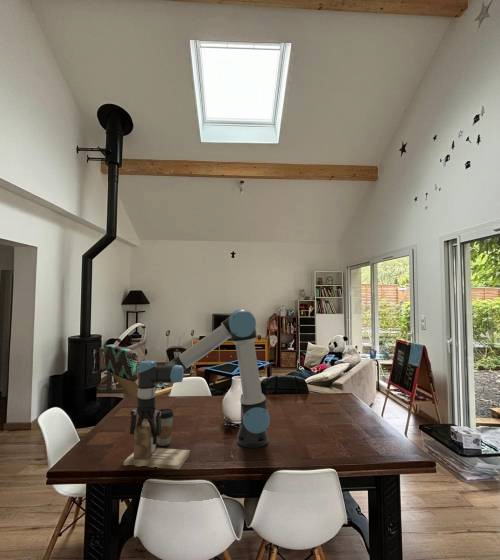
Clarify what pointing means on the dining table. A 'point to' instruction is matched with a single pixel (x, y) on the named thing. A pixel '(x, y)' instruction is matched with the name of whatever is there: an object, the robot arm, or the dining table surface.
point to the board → (161, 459)
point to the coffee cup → (165, 427)
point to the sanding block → (142, 440)
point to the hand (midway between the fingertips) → (145, 451)
